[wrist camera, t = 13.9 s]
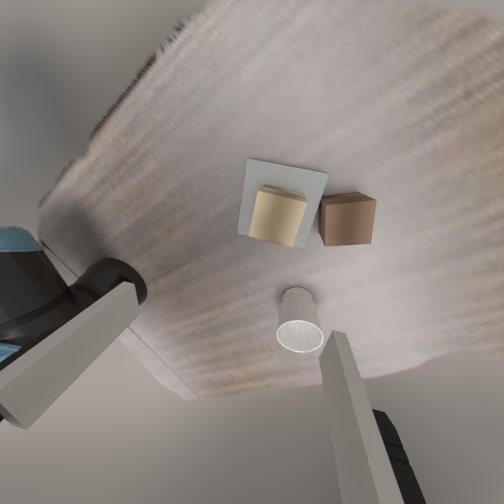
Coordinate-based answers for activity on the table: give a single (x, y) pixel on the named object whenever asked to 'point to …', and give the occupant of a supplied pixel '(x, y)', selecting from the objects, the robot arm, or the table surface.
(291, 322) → the white cup
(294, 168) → the grey block
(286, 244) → the maple block
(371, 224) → the walnut block
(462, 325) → the table surface
